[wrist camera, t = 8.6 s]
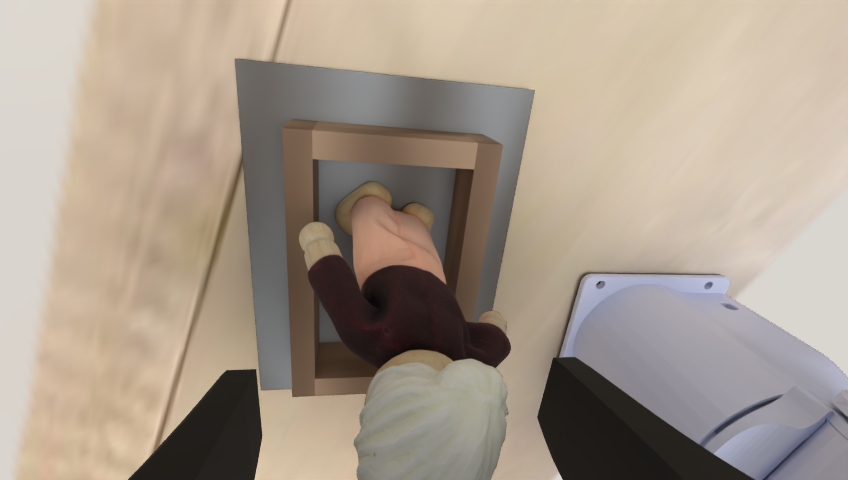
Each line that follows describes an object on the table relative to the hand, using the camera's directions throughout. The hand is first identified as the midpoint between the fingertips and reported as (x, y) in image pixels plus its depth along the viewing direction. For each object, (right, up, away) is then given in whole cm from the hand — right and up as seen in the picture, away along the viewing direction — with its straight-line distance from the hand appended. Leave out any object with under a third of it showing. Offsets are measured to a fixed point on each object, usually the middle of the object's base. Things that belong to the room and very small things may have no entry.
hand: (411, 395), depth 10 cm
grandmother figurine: (-1, +5, +9) cm, 10 cm away
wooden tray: (-2, +3, +10) cm, 10 cm away
